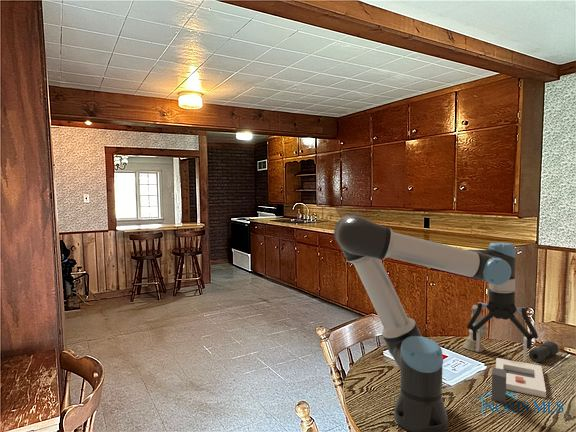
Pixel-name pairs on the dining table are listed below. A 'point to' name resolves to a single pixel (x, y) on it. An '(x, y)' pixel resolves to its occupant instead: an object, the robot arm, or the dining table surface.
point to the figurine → (469, 342)
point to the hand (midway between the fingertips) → (500, 354)
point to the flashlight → (543, 351)
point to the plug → (499, 385)
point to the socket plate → (523, 377)
